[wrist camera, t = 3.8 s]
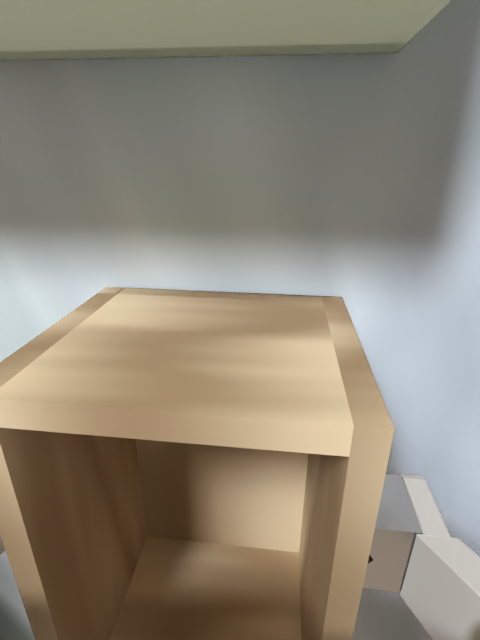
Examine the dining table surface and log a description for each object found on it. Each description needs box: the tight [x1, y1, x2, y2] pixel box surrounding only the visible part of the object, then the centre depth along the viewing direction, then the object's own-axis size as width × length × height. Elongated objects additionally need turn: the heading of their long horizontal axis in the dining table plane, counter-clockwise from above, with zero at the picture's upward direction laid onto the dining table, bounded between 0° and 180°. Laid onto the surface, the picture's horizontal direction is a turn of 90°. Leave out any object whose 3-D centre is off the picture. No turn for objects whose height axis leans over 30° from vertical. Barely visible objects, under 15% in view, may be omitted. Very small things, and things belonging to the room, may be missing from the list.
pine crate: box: [0, 287, 395, 640], centre depth 9 cm, size 6×9×5 cm, turn 179°
